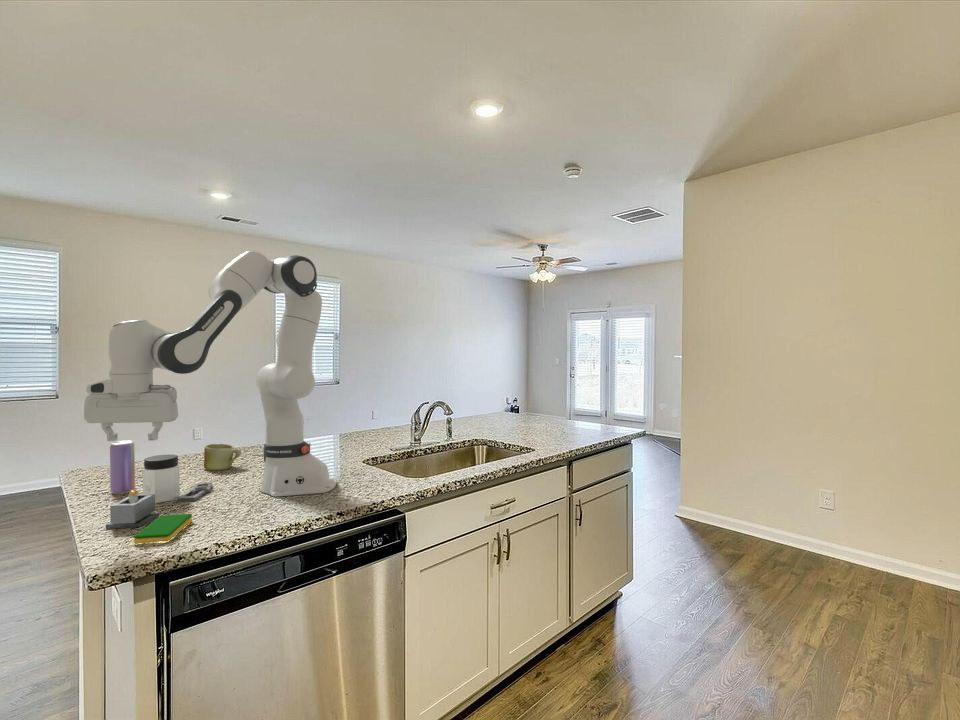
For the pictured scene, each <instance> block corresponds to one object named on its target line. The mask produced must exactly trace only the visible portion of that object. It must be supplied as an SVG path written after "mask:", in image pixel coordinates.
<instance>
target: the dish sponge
mask: <svg viewBox="0 0 960 720" xmlns="http://www.w3.org/2000/svg"><path fill="white" fill-rule="evenodd" d="M191 521H192V522H193V514H192V513H181V514H180V513H179V514H162V515H159V517H157V518H156V519H154V520H152V521H151V522H150V523H148V524H147V526H146V527H145V526H144V528H143V529H142V530H140V531H139V532H138V533H136V534H135V535H134V536H133V544H134V543H145V542H157V541H168V540H170V539H171V538H172V537H174V536H175V535H176V534H177V533H178V532H180V531H181V530H182V529H183V528H184V527H185V526H186V525H188V524H189V523H190V522H191ZM192 522H191V523H192ZM191 523H190V524H191ZM190 524H189V525H190ZM189 525H188V526H189ZM184 529H185V528H184ZM184 529H183V530H184ZM183 530H182V531H183ZM182 531H181V532H182ZM181 532H180V533H181Z"/></svg>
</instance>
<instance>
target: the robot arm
mask: <svg viewBox="0 0 960 720" xmlns="http://www.w3.org/2000/svg"><path fill="white" fill-rule="evenodd" d="M317 273H318V272H317V268H316V266H315V264H314V262H313V261H312V260H311V259H309V258H308V257H306V256H304V255H297V254H294V255H285V256H279V257H278V258H274V259H269V258H268V257H267V256H266V255H265V254H263V253H261V252H259V251H256V250H246V251H245V252H243V253H241V254H239V256H236V257H235V258H234V259H232V260H231V262H229V263H228V264H227V265H226V266H224V267H223V268H222V269H221V270H220V271H219V272H218V273H217V274H216V275H215V277H214V278H213V279H212V281H211V282H210V284H209V285H208V288H207V294H208V297H209V299H210V300H209V301H210V302H209V304H208V305H207V307H206V308H205V309H203V311H202V313H200V315H199V316H198V317H197V318H195V320H194V321H193V322H192V323H191V324H190V326H188V327H187V328H185V329H184V330H182V331H180V332H177V333H173V332H171V331H169V330H165V329H162V328H160V327H158V326H156V325H154V324H152V323H151V322H150V321H148V320H146V319H135V320H132V319H131V320H127V321H119V322H117V323H115V324H113V326H111V328H110V330H109V335H108V336H109V337H108V358H109V361H110V368H109V372H108V378H107V379H104V380H100V381H97V382H94V383H90V384H88V385H86V388H85V391H86V392H87V394H88V395H87V396H86V397H85V398H84V403H83V404H84V406H83V418H84V420H85V422H86V423H87V424H101V429H102V431H103V432H104V433H105V435H106V441H107V442H117V440H118V438H119V436H118V435H119V433H118V432H114V429H113V428H112V427H113V426H114V424H122V423H123V424H125V423H126V424H128V423H129V424H131V423H132V424H134V423H135V424H136V423H139V424H140V423H151V424H152V425H151V426H152V427H153V430H152V431H151V432H149V433H147V437H148V438H147V440H148V441H156V440H158V439H159V432H160V431H161V429H162V427H163V426H164V424H163V423H170V422H174V421H176V420H177V419H178V417H179V408H178V403H177V397H178V396H177V395H178V394H177V393H178V392H177V389H176V388H175V387H173V386H171V385H170V384H162V385H161V384H154V373H153V372H154V369H162V370H165V371H168V372H173V373H175V374H180V375H187V374H192V373H193V372H195V371H197V370H199V369H200V368H201V367H202V366H203V365H204V363H205V362H206V360H207V356H208V354H209V351H210V348H211V346H212V344H213V343H214V341H215V340H216V339H217V337H218V336H220V334H221V333H222V332H223V330H225V328H226V327H227V326H228V324H229V323H230V322H231V321H232V319H233V318H234V317H235V316H236V315H237V314H238V313H240V312H241V311H242V310H243V309H244V308H245V307H247V305H249V303H250V302H252V300H254V298H255V297H256V296H257V295H259V293H260V292H261V290H263V289H264V290H265V291H268V293H269V292H270V293H273V294H284V298H285V308H284V310H283V315H282V316H281V317H282V318H281V322H280V324H279V328H278V332H277V335H276V339H275V343H276V345H277V357H276V358H277V360H276V362H272V363H269V364H266V365H264V366H262V367H261V368H260V369H259V370H258V372H257V373H256V377H255V382H256V386H257V387H258V390H259V393H260V399H261V403H262V408H263V413H264V420H265V421H264V423H265V424H264V427H265V429H264V430H265V431H264V433H265V434H264V435H265V440H264V441H265V443H264V444H263V462H264V468H263V475H262V478H261V479H262V481H261V485H260V488H259V492H261V493H264V494H268V495H270V496H271V497H275V498H276V497H285V496H287V497H289V496H299V495H300V496H301V495H313V494H324V493H325V494H326V493H328V492H330V491H332V490H333V489H335V487H336V486H337V480H336V478H334V477H330V472H329V468H328V466H327V464H326V463H325V462H324V461H322V460H320V459H319V458H318V457H316V456H314V455H313V454H312V453H311V446H312V445H311V442H306V440H305V441H304V439H305V438H304V434H305V433H304V416H303V413H302V410H301V408H300V406H299V402H298V400H300V399H304V398H306V397H308V396H309V395H310V394H311V393H312V392H313V390H314V388H315V385H316V379H315V376H314V373H313V352H314V351H313V349H314V344H315V341H316V336H317V332H318V329H319V325H320V321H321V315H322V307H323V304H322V303H323V300H322V299H323V298H322V295H321V294H320V293H319V291H317V290H316V289H317V287H318V284H317V279H318V275H317Z"/></svg>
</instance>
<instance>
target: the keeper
mask: <svg viewBox="0 0 960 720" xmlns="http://www.w3.org/2000/svg"><path fill="white" fill-rule="evenodd" d="M138 494H139V493H138V491H136V490H133V491H131V492H129V493H128V496H129V504H132V503H134V502H136V501H138ZM158 516H159V517H160V512H157V511H156V512H155V511H154V512H152V513H150V514H149V515H147V516H146V517H144V518H142V519H141V520H139V521H137V522H136V523H123V524H111V523H110V522H108V523H106V524H105V529H135V528H136V527H139V528H140V527H141V528H143V527H145V526H146V525H149V524H150V523H151V522H153V521H155V520H156V519H157V518H159V517H158ZM155 518H156V519H155ZM150 521H151V522H150ZM144 525H145V526H144Z"/></svg>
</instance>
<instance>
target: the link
mask: <svg viewBox="0 0 960 720" xmlns="http://www.w3.org/2000/svg"><path fill="white" fill-rule="evenodd" d="M109 508H110V510H109V513H110V514H109V515H110V517H109V518H110V520H109V521H110V523H111V524H123V523H136V522H137V521H139V520H141V519H142V518H144V517H146V516H147V515H149V514H150V513H152V512H155V511H156V503H155V494H143V493H138V501H136V502H134V503H132V504H129V495H128V496H127V497H125V498H123V499H121V500H118V501H117V502H115V503H113V504H111V505H110V507H109Z"/></svg>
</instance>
